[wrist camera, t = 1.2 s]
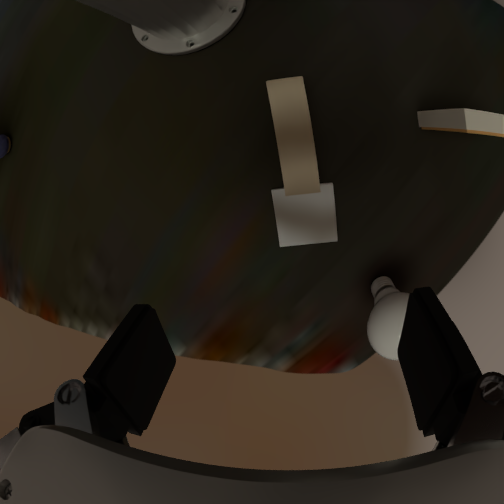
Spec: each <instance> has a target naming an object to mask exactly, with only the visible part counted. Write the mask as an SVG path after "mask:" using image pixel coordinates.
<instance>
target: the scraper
mask: <svg viewBox="0 0 504 504" xmlns="http://www.w3.org/2000/svg"><path fill="white" fill-rule="evenodd" d="M266 85H267V90H268V95H269V101H270V106H271V111H272V117H273V122H274V128H275V134H276V139H277V145H278V151H279V157H280V164H281V170H282V176H283V183H284V188H277V189H272V190H271V191H272V198H273V204H274V210H275V217H276V223H277V230H278V236H279V243H280V247H284V246H294V245H304V244H314V243H324V242H334V241H338V240H337V225H336V212H335V200H334V190H333V183H332V182H331V183H321V184H320V182H319V174H318V166H317V159H316V152H315V145H314V138H313V132H312V126H311V120H310V114H309V108H308V102H307V97H306V92H305V87H304V82H303V77H302V76H299V77H291V78H283V79H276V80H269V81H266Z"/></svg>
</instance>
